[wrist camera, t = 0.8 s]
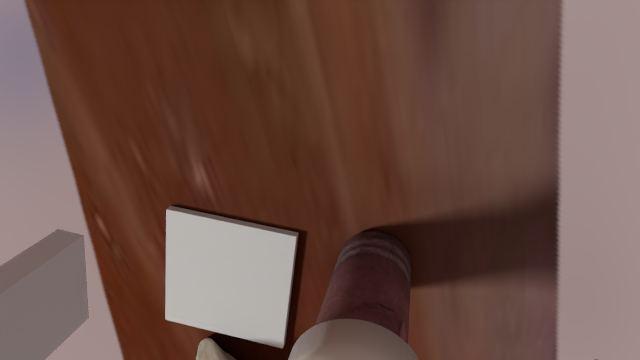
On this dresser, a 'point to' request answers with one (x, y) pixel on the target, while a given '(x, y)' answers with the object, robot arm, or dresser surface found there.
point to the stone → (211, 351)
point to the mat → (229, 275)
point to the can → (371, 283)
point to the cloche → (350, 342)
